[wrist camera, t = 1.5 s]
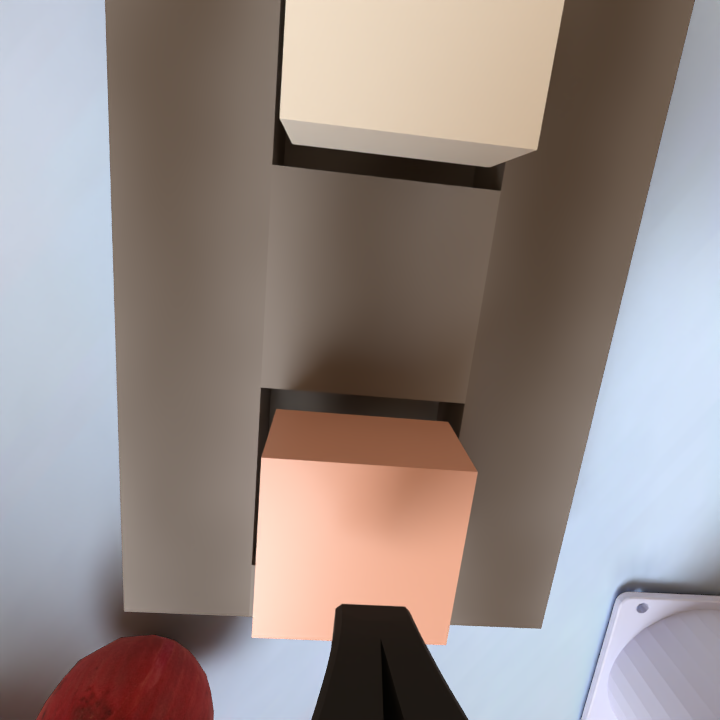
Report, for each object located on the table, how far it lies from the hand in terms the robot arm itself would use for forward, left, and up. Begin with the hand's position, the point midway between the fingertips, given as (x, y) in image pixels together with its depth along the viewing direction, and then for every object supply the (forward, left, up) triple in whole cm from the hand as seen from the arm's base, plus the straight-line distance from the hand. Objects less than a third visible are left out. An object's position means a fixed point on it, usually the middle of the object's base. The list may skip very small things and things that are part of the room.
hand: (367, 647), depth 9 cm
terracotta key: (0, 0, -6) cm, 6 cm away
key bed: (0, -6, -9) cm, 11 cm away
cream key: (0, -12, -6) cm, 13 cm away
